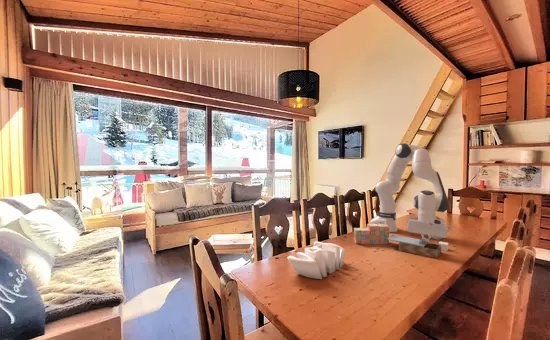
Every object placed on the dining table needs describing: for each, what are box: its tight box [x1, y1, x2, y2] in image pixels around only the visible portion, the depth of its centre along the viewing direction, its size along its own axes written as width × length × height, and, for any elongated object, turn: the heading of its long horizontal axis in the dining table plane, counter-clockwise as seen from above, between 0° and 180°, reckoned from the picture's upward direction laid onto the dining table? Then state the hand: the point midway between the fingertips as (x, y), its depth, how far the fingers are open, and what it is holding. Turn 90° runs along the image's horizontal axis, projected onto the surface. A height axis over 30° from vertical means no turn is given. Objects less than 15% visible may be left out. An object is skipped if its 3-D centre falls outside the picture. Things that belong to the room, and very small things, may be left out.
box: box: [398, 242, 442, 260], centre depth 150 cm, size 20×12×5 cm, turn 48°
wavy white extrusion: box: [286, 241, 346, 280], centre depth 129 cm, size 35×16×10 cm, turn 132°
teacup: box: [430, 224, 450, 241], centre depth 173 cm, size 12×15×10 cm
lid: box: [387, 234, 428, 247], centre depth 154 cm, size 20×11×3 cm, turn 48°
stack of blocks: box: [353, 223, 390, 245], centre depth 167 cm, size 21×6×12 cm, turn 86°
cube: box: [438, 241, 449, 252], centre depth 152 cm, size 4×4×4 cm
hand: (426, 241), depth 147 cm, fingers closed
